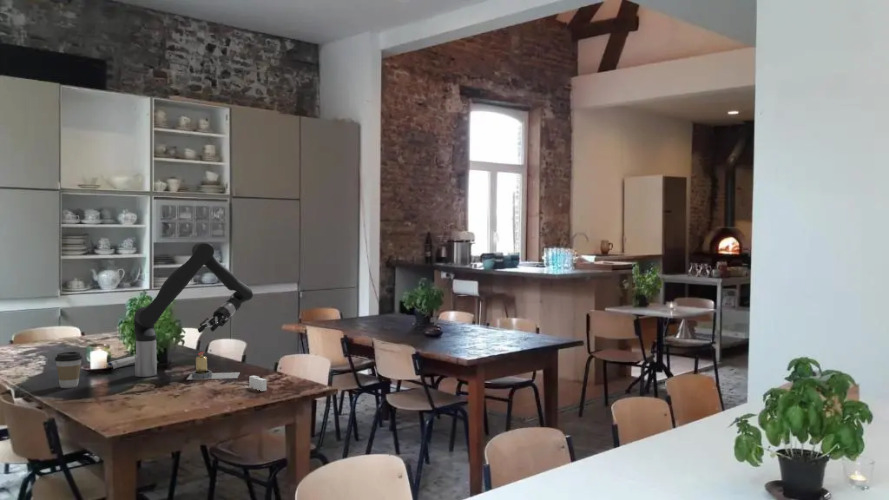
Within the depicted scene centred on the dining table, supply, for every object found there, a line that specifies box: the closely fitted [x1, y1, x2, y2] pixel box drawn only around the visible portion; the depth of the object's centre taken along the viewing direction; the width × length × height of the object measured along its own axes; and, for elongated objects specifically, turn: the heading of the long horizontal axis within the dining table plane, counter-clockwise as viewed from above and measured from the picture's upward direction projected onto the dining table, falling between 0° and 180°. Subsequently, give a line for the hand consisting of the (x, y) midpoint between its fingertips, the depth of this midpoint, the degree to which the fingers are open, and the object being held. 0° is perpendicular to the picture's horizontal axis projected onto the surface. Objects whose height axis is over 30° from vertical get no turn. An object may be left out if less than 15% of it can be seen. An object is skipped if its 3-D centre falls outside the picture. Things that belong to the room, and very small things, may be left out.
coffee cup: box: [54, 351, 83, 389], centre depth 329 cm, size 11×11×15 cm
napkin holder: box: [248, 375, 268, 392], centre depth 328 cm, size 15×11×6 cm
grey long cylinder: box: [107, 355, 135, 370], centre depth 379 cm, size 5×7×25 cm
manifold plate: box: [186, 369, 241, 380], centre depth 347 cm, size 23×13×4 cm, turn 100°
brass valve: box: [195, 351, 208, 373], centre depth 346 cm, size 5×5×11 cm
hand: (205, 330), depth 356 cm, fingers open, 8 cm apart
